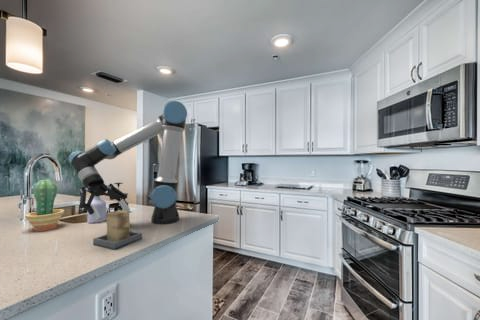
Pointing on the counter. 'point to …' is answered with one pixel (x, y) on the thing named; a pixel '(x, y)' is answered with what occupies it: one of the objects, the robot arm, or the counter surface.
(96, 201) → the soap bottle
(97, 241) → the slate tray
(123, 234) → the oak block
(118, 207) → the french press
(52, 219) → the potted cactus
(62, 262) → the counter surface
